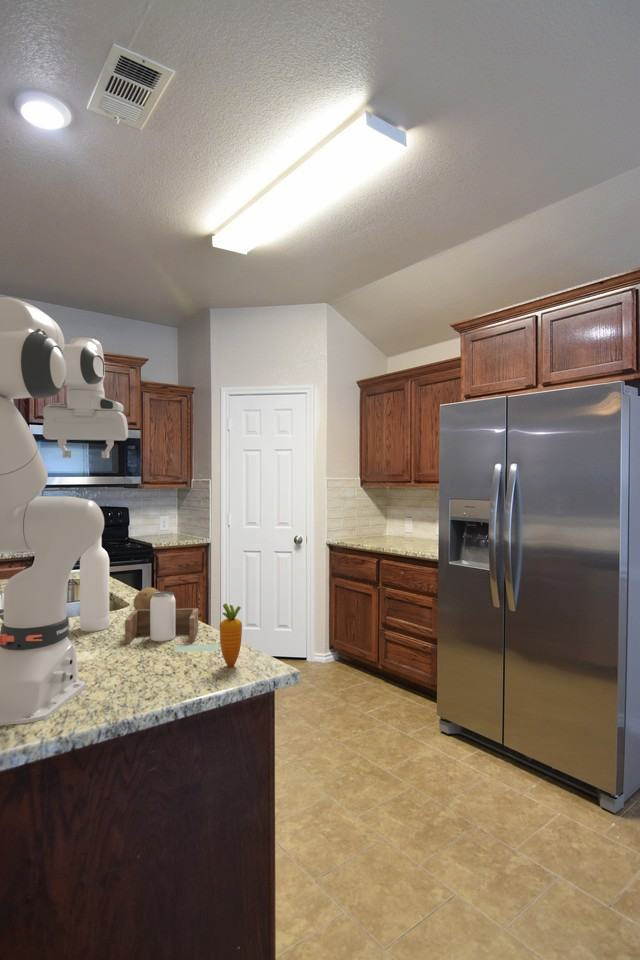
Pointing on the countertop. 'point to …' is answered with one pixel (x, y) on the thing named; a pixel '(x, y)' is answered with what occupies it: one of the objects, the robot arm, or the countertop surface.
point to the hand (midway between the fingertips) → (86, 457)
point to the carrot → (230, 635)
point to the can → (162, 616)
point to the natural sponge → (144, 598)
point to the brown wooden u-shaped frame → (141, 623)
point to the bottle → (94, 589)
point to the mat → (196, 648)
